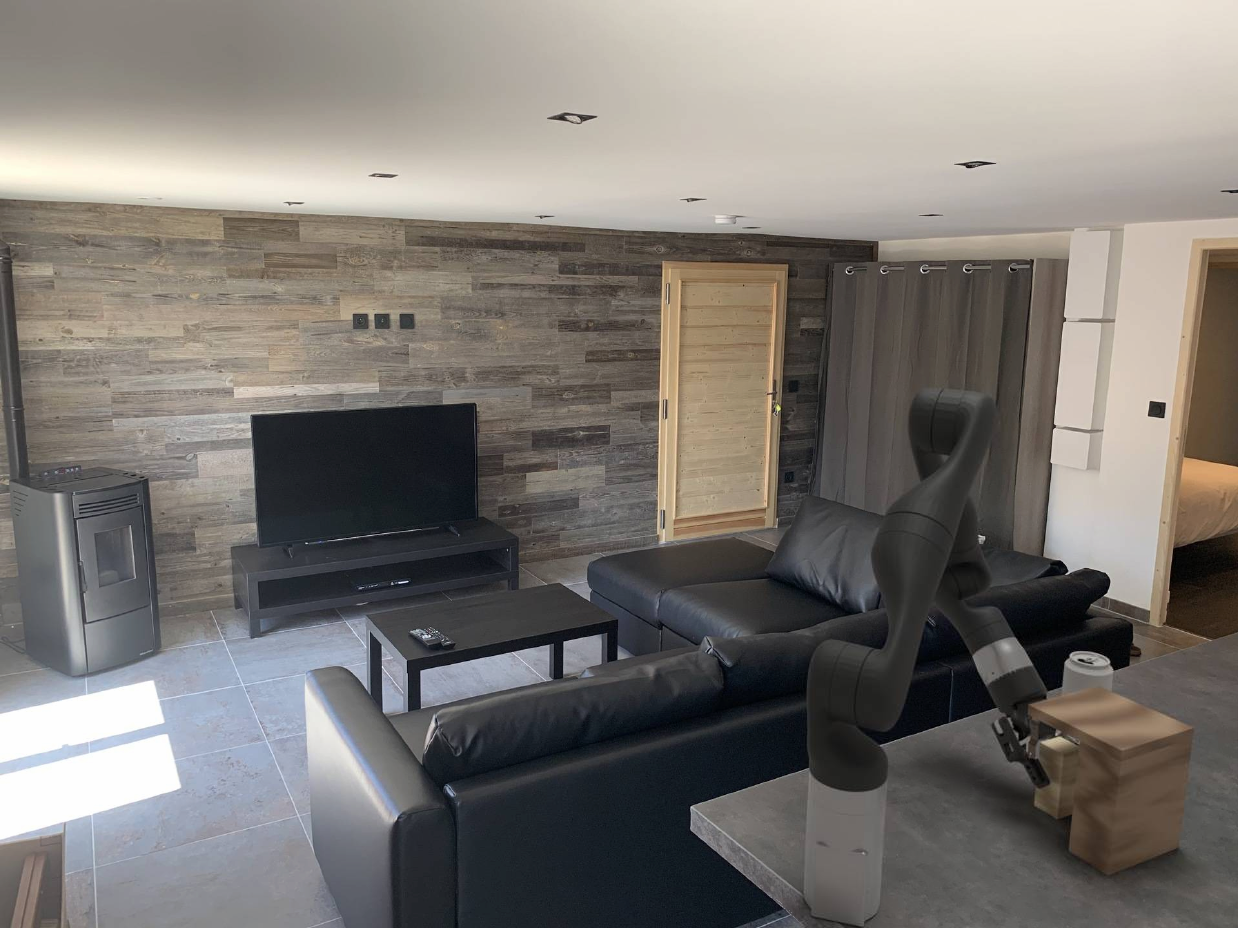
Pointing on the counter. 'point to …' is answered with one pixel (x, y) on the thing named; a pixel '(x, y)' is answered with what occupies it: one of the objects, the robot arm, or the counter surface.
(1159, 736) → the walnut shelf
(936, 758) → the counter surface
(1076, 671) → the can
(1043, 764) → the oak block
